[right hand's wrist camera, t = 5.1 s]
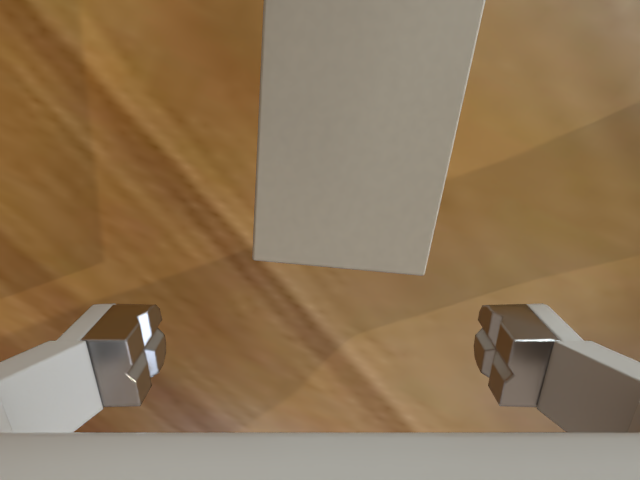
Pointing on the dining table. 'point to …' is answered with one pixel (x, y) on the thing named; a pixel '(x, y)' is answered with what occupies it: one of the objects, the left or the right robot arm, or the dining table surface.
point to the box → (358, 128)
